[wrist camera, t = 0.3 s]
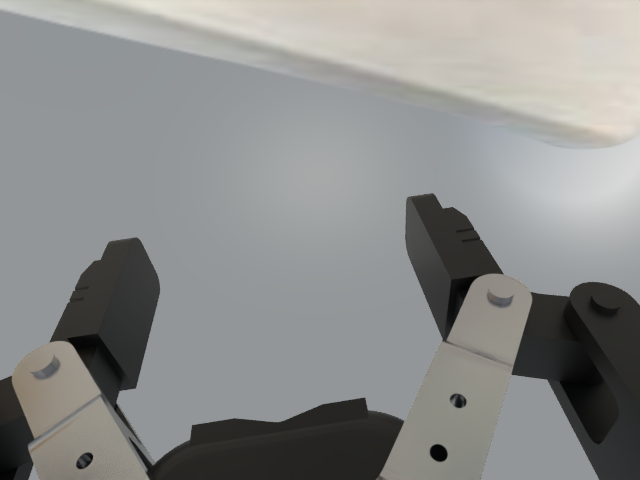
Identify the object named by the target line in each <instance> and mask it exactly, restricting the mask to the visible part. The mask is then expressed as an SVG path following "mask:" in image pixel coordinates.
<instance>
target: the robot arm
mask: <svg viewBox="0 0 640 480" xmlns="http://www.w3.org/2000/svg"><path fill="white" fill-rule="evenodd" d="M405 239H406V248H407V252H408V256H409V258H410V261H411V263H412V265H413V268H414V270H415V273H416V275H417V278H418V280H419V283H420V285H421V287H422V290H423V292H424V295H425V297H426V300H427V302H428V304H429V307H430V309H431V312H432V314H433V317H434V319H435V321H436V324H437V326H438V329H439V331H440V333H441V336H442V338H443V340H442V342H441V343H440V345H439V347H438V349H437V351H436V353H435V355H434V358H433V360H432V362H431V364H430V366H429V369H428V371H427V374H426V376H425V378H424V380H423V382H422V384H421V386H420V389H419V391H418V393H417V395H416V397H415V400H414V402H413V404H412V406H411V408H410V411H409V413H408V415H407V418H406V420H405V421H403V420H401V419H399V418H397V417H395V416H392V415H389V414H386V413H381V412H377V411H368V409H367V405H366V400H365V398H360V399H354V400H348V401H341V402H335V403H329V404H323V405H320V406H318V407H316V408H313V409H311V410H308V411H306V412H304V413H301V414H299V415H297V416H294V417H292V418H290V419H287V420H285V421H282V422H266V421H256V420H245V419H229V420H222V421H216V422H210V423H204V424H197V425H192V430H191V438H190V440H189V441H187V442H184V443H183V444H181V445H179V446H177V447H175V448H174V449H173V450H171V451H170V452H168V453H167V454H165V455H164V456H163V457H162V458H161V459H160V460H158V461H157V462H155V461H154V460H153V458H152V457H151V455H150V454H149V452H148V451H147V449H146V448H145V446H144V445H143V443H142V441H141V440H140V438H139V437H138V435H137V434H136V432H135V430H134V428H133V427H132V425H131V424H130V422H129V420H128V419H127V417H126V416H125V414H124V412H123V411H122V409H121V408H120V406H119V405H118V403H117V402H116V400H117V397H118V394H119V391H122V390H128V389H134V388H136V385H137V382H138V378H139V374H140V370H141V365H142V361H143V358H144V354H145V350H146V346H147V342H148V338H149V334H150V330H151V325H152V322H153V318H154V314H155V310H156V306H157V302H158V298H159V294H160V284H159V279H158V276H157V273H156V271H155V269H154V267H153V265H152V263H151V261H150V259H149V257H148V255H147V253H146V251H145V249H144V247H143V245H142V243H141V241H140V240H139V239H138V238H130V239H123V240H116V241H111V242H109V243H108V245H107V247H106V249H105V251H104V253H103V256H102V258H101V260H98V261H94V262H93V263H92V264H91V265H90V266H89V267H88V268H87V269H86V270H85V271H84V272H83V273H82V274H81V276H80V279H79V281H78V283H77V285H76V287H75V291H73V293H72V296H71V298H70V302H69V303H68V304H67V306H66V308H65V310H64V312H63V315H62V317H61V319H60V321H59V323H58V325H57V327H56V329H55V332H54V334H53V336H52V338H51V340H50V342H49V343H47V344H45V345H42V346H40V347H38V348H37V349H35V350H33V351H32V352H30V353H29V354H28V355H27V356H25V357H24V358H23V359H22V360H21V362H20V363H19V364H18V365H17V367H16V368H15V371H14V373H13V375H12V376H10V377H8V378H5V379H3V380H0V480H28V479H29V476H30V473H31V470H32V467H33V464H34V466H35V468H36V471H37V473H38V476H39V479H40V480H480V479H481V476H482V472H483V469H484V465H485V462H486V459H487V455H488V452H489V448H490V445H491V442H492V438H493V435H494V431H495V427H496V424H497V421H498V417H499V414H500V410H501V407H502V404H503V401H504V397H505V394H506V390H507V387H508V384H509V380H510V377H511V375H518V376H525V377H533V378H540V379H547V380H548V382H549V383H550V385H551V388H552V389H553V391H554V393H555V395H556V397H557V399H558V401H559V403H560V405H561V407H562V408H563V411H564V413H565V414H566V416H567V418H568V420H569V422H570V424H571V426H572V428H573V430H574V432H575V433H576V436H577V438H578V439H579V441H580V443H581V445H582V447H583V449H584V451H585V453H586V455H587V456H588V459H589V461H590V462H591V464H592V466H593V468H594V470H595V472H596V474H597V476H598V478H599V480H640V305H639V304H638V303H637V302H636V301H635V300H634V299H633V298H632V297H631V296H630V295H629V294H628V293H626V292H625V291H623V290H621V289H619V288H617V287H615V286H612V285H608V284H605V283H599V282H587V283H582V284H580V285H578V286H576V287H575V288H574V289H573V290H572V291H571V293H570V296H569V297H567V296H556V295H545V294H537V293H533V292H530V291H529V289H528V288H527V287H526V286H525V285H524V284H523V283H522V282H520V281H519V280H517V279H515V278H513V277H510V276H507V275H504V274H503V272H502V271H501V269H500V268H499V266H498V264H497V263H496V261H495V260H494V258H493V257H492V255H491V254H490V252H489V250H488V249H487V247H486V246H485V244H484V243H483V241H482V240H480V237H479V235H478V233H477V232H476V231H475V230H474V227H473V226H472V224H471V223H470V221H469V220H468V218H467V216H465V215H464V214H462V213H461V212H459V211H458V210H456V209H455V208H453V207H451V208H445V209H443V208H442V207H441V205H440V203H439V202H438V200H437V198H436V196H435V195H434V194H433V193H431V194H424V195H418V196H411V197H408V198H407V202H406V235H405Z"/></svg>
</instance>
